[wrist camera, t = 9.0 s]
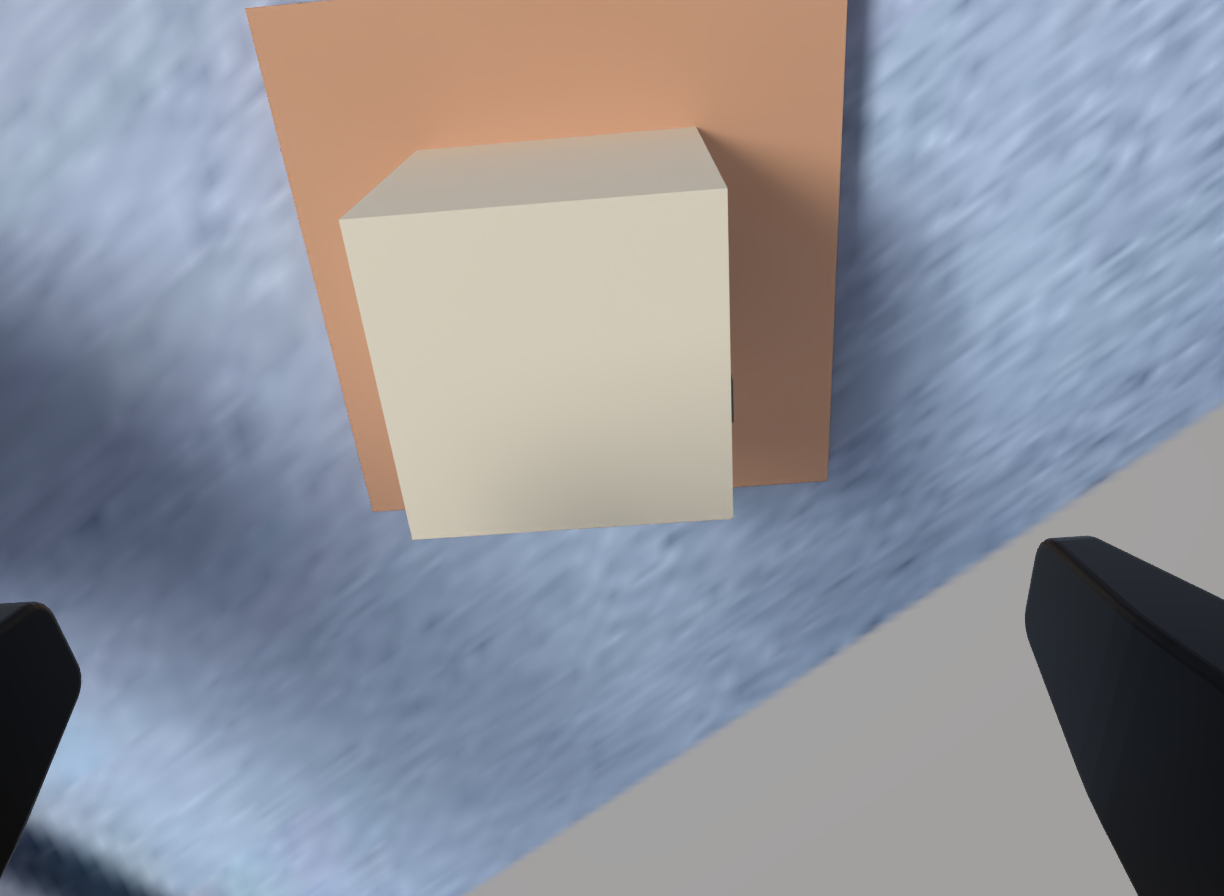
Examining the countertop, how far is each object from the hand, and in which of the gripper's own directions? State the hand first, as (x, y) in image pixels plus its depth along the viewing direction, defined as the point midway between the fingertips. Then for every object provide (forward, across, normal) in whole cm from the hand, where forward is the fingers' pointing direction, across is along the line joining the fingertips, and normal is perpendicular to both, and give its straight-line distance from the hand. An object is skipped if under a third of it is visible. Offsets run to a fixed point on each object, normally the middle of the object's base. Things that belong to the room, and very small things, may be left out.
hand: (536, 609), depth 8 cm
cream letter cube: (+10, 0, 0) cm, 10 cm away
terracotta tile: (+11, 0, 0) cm, 11 cm away
